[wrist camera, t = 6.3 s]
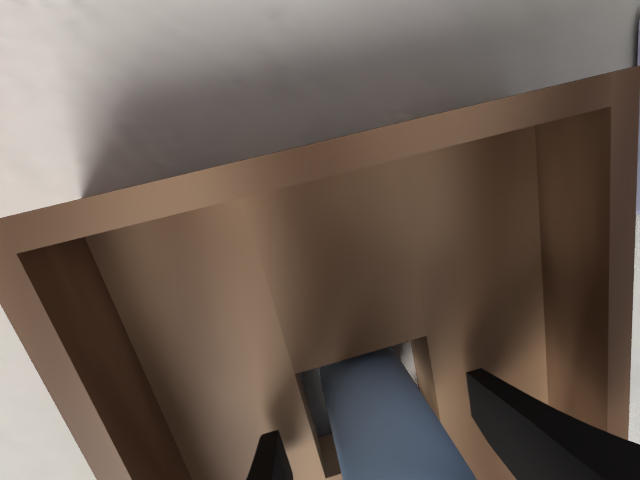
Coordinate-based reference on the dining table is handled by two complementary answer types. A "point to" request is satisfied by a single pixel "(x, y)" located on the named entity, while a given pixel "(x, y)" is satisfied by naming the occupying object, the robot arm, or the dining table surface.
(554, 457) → the robot arm
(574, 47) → the dining table surface
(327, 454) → the walnut box
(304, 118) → the dining table surface
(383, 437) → the peg
